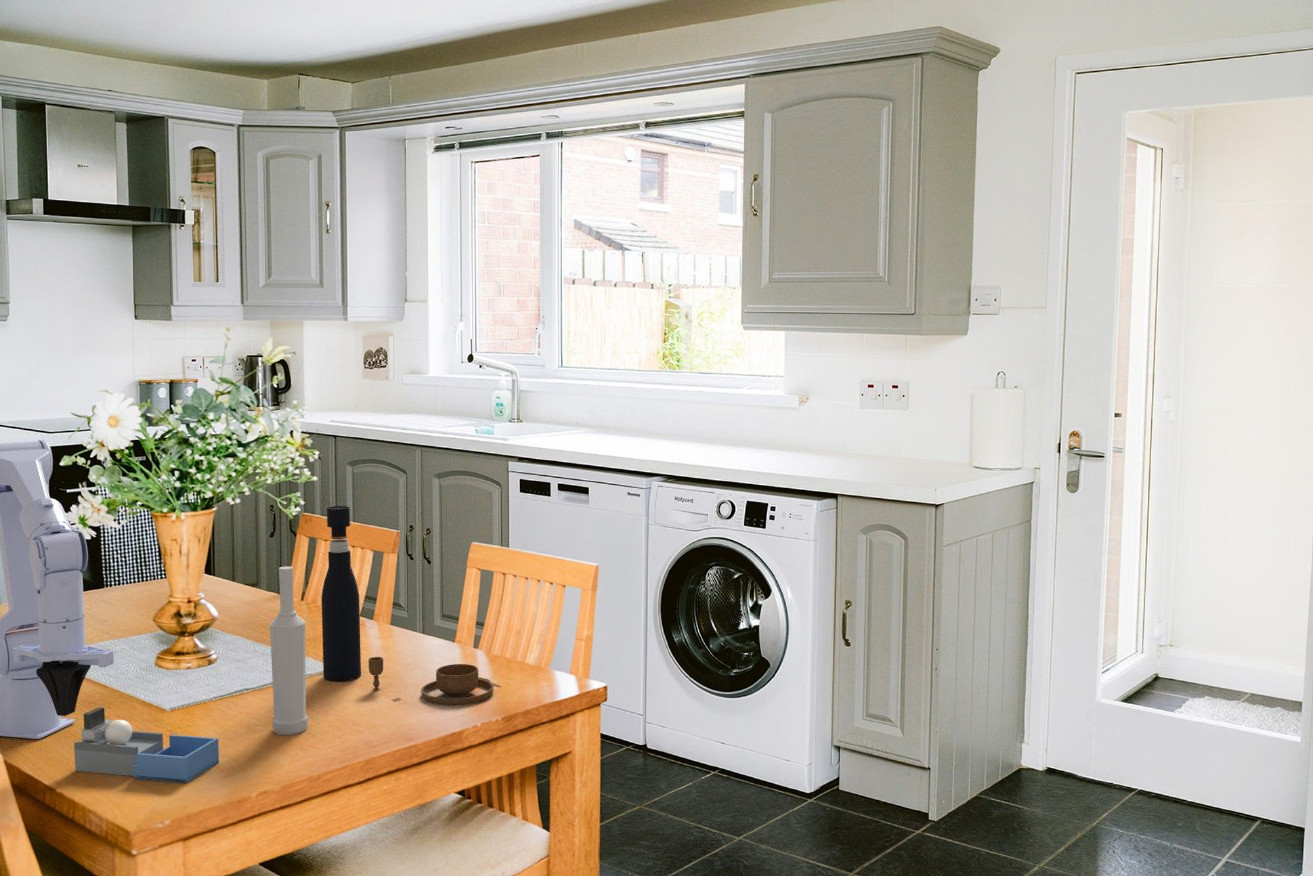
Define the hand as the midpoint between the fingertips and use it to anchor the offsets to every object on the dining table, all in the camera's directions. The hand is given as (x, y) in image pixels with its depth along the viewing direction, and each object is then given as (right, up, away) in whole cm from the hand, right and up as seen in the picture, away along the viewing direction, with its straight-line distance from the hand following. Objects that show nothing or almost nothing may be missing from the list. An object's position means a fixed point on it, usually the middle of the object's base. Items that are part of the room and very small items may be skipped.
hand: (66, 713), depth 165 cm
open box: (+17, -7, -3) cm, 18 cm away
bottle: (+27, -6, +14) cm, 31 cm away
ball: (+8, -2, -1) cm, 8 cm away
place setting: (+46, -5, +34) cm, 58 cm away
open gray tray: (+9, -7, -1) cm, 11 cm away
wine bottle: (+28, -3, +41) cm, 50 cm away
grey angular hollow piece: (+5, -4, -1) cm, 6 cm away
